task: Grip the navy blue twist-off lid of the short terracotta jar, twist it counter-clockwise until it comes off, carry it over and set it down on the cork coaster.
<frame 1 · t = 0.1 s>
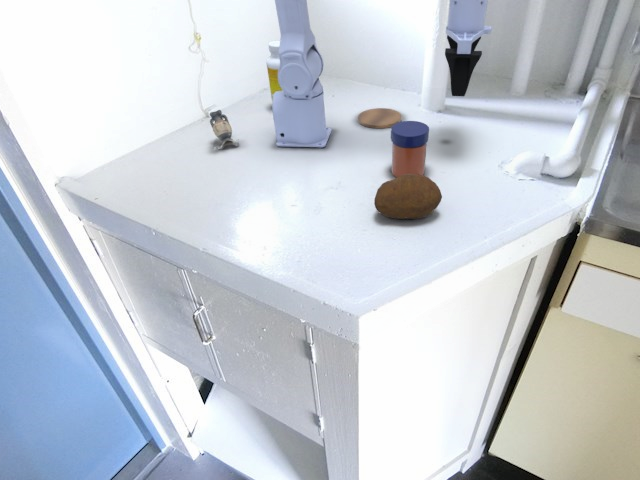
hand: (458, 87, 80), 10 cm above the countertop, tool pointing down, fingers open, 7 cm apart
coaster: (379, 119, 97), on the countertop
potato: (406, 214, 71), on the countertop
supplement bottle: (288, 107, 104), on the countertop
lid: (410, 130, 75), point 7 cm above the countertop, screwed on, not yet turned
jar: (408, 171, 80), on the countertop
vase: (225, 144, 91), on the countertop
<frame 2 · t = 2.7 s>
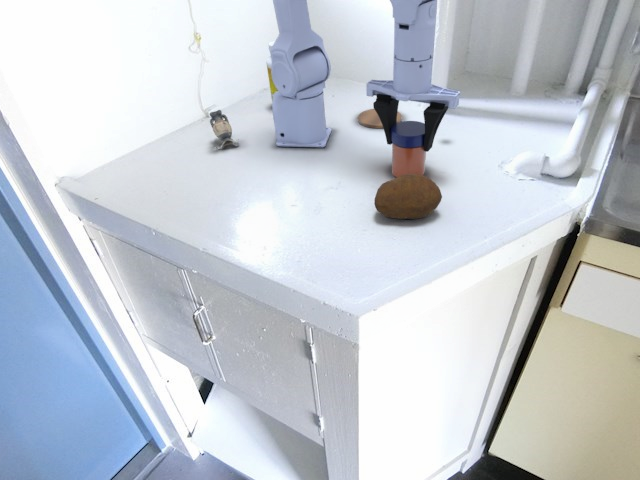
hand: (409, 145, 77), 5 cm above the countertop, tool pointing down, fingers closed on lid, 6 cm apart
lid: (410, 130, 75), point 7 cm above the countertop, screwed on, not yet turned, touching gripper
everything else where it was.
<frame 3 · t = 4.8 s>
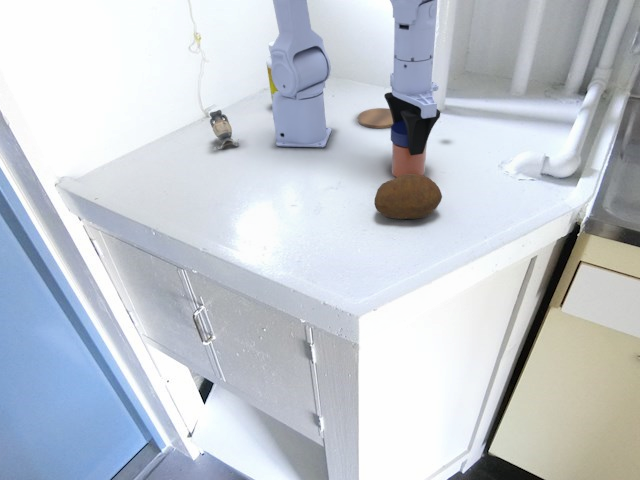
hand: (409, 145, 77), 5 cm above the countertop, tool pointing down, fingers closed on lid, 6 cm apart
lid: (409, 129, 75), point 7 cm above the countertop, off its thread, touching gripper
everything else where it was.
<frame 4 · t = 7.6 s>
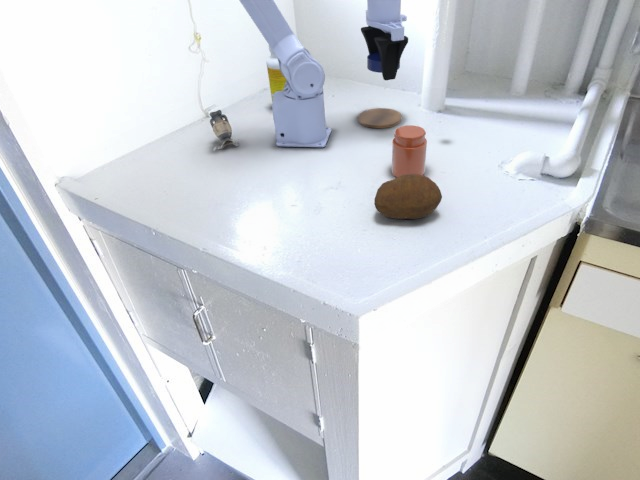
hand: (383, 73, 88), 10 cm above the countertop, tool pointing down, fingers closed on lid, 6 cm apart
lid: (383, 58, 86), point 13 cm above the countertop, off its thread, touching gripper
everything else where it was.
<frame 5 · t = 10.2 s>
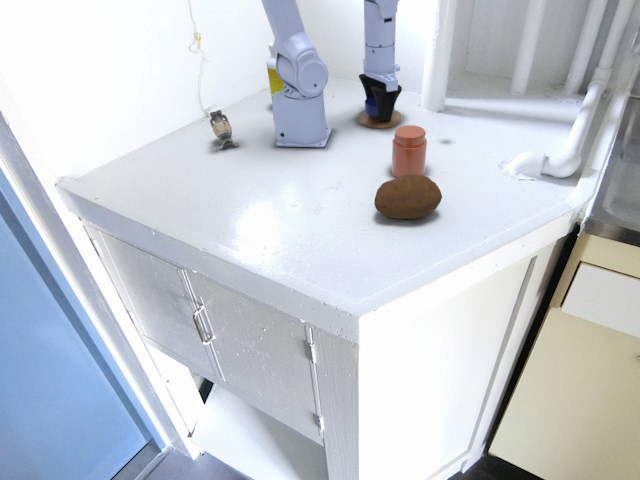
hand: (379, 116, 96), 1 cm above the countertop, tool pointing down, fingers closed on lid, 6 cm apart
lid: (379, 103, 94), point 3 cm above the countertop, off its thread, touching gripper
everything else where it was.
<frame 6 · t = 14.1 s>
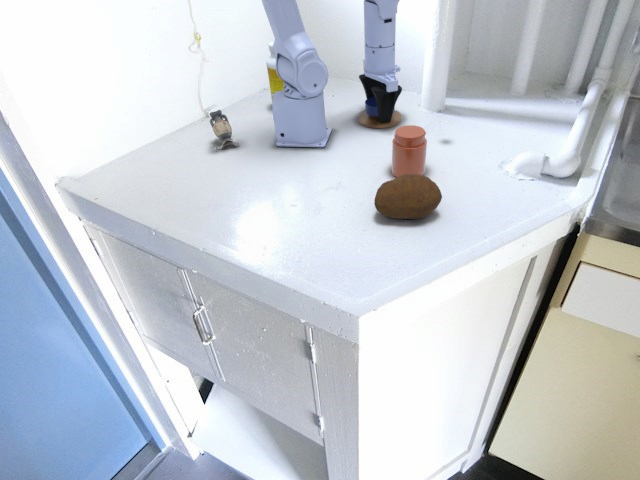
hand: (379, 116, 96), 1 cm above the countertop, tool pointing down, fingers closed on lid, 6 cm apart
lid: (379, 103, 95), point 3 cm above the countertop, off its thread, touching gripper
everything else where it was.
when the fingers open (2 cm above the countertop, at t = 17.7 s): lid drops 2 cm, resting on coaster.
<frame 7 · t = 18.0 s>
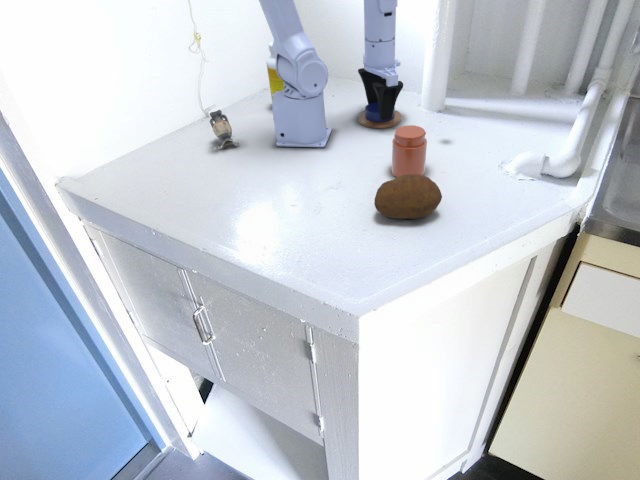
hand: (379, 111, 96), 2 cm above the countertop, tool pointing down, fingers open, 7 cm apart
lid: (379, 109, 95), point 2 cm above the countertop, off its thread, touching coaster
everything else where it was.
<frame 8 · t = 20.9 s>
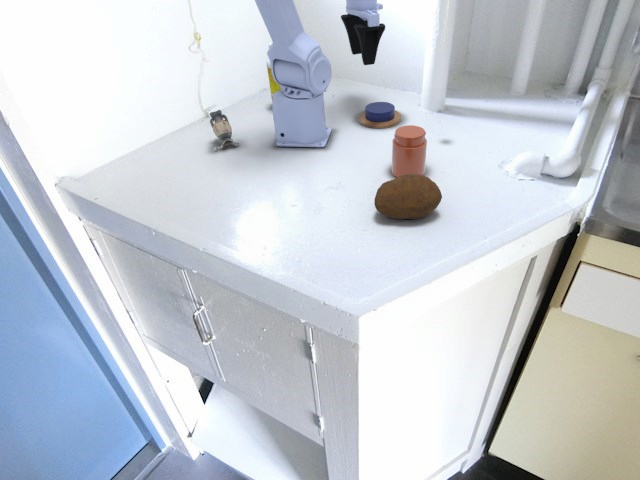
hand: (363, 58, 95), 10 cm above the countertop, tool pointing down, fingers open, 7 cm apart
nothing on the countertop moved.
at the end: lid inside the target area on the coaster (0.0 cm from its centre), point 2.1 cm above the coaster's base; lid point 2.1 cm above the countertop; the gripper is holding nothing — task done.
